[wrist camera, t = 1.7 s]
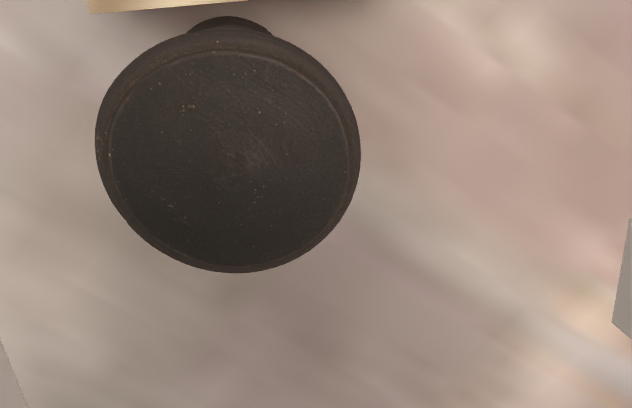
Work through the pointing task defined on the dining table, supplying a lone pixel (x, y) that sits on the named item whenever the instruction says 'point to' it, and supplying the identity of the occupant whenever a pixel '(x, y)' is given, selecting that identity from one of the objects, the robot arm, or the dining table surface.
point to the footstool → (142, 4)
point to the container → (228, 148)
